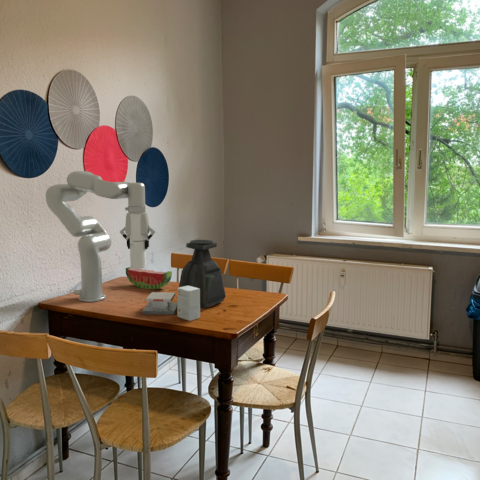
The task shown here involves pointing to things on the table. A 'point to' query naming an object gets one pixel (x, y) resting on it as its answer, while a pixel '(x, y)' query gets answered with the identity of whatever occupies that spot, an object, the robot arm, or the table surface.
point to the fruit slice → (148, 278)
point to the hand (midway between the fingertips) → (138, 248)
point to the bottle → (203, 274)
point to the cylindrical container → (137, 243)
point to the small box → (188, 302)
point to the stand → (160, 304)
